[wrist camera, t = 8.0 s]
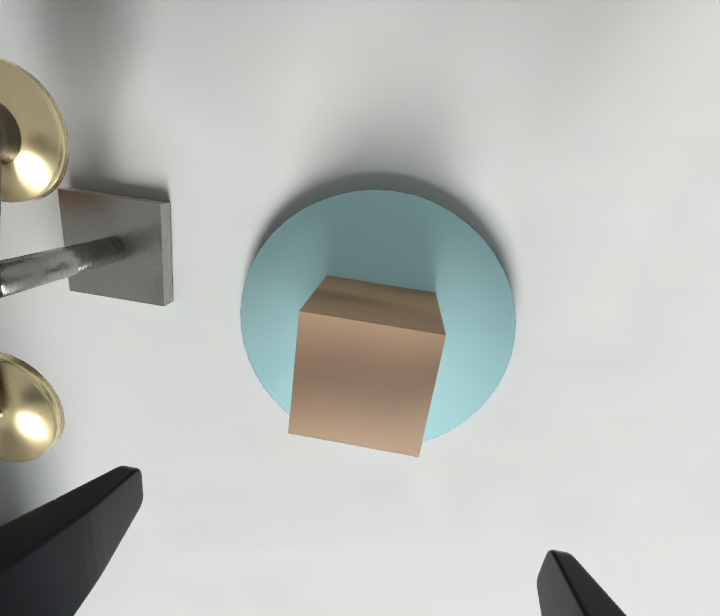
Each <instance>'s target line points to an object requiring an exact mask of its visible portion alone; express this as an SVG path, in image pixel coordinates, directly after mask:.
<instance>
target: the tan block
mask: <svg viewBox="0 0 720 616" xmlns="http://www.w3.org/2000/svg"><path fill="white" fill-rule="evenodd" d="M445 338H446V333H445V329H444V325H443V320H442V316H441V312H440V308H439V304H438V300H437V296H436V292H429V291H423V290H417V289H410V288H404V287H398V286H392V285H385V284H379V283H373V282H367V281H360V280H354V279H348V278H341V277H335V276H329V275H326V277H325V278H324V279H323V281H322V282H321V283H320V284H319V286H318V287H317V288H316V290H315V291H314V292H313V294H312V295H311V296H310V297H309V299H308V300H307V301H306V303H305V304H304V305H303V306H302V308H301V309H300V310H299V316H298V328H297V339H296V351H295V362H294V374H293V385H292V397H291V408H290V420H289V431H288V433H290V434H296V435H301V436H307V437H312V438H318V439H323V440H328V441H334V442H339V443H345V444H350V445H355V446H361V447H366V448H372V449H377V450H382V451H388V452H393V453H399V454H404V455H409V456H415V457H419V454H420V449H421V445H422V440H423V436H424V432H425V427H426V423H427V418H428V414H429V409H430V405H431V401H432V396H433V392H434V387H435V383H436V378H437V374H438V369H439V365H440V361H441V356H442V352H443V347H444V343H445Z"/></svg>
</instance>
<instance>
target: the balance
mask: <svg viewBox="0 0 720 616" xmlns="http://www.w3.org/2000/svg"><path fill="white" fill-rule="evenodd" d="M68 161H69V140H68V134H67V130H66V126H65V123H64V120H63V117H62V115H61V112H60V110H59V108H58V106H57V105H56V103H55V101H54V100H53V98H52V97H51V95H50V94H49V92H48V91H47V90H46V89H45V87H44V86H43V85H42V84H41V83H40V82H39V81H38V80H37V79H36V78H35V77H34V76H33V75H31V74H30V73H29V72H27V71H26V70H24V69H23V68H22V67H20V66H18V65H16V64H14V63H12V62H9V61H6V60H4V59H0V214H1V201H3V202H23V201H33V200H38V199H41V198H43V197H45V196H47V195H49V194H50V193H52V192H53V191H54V190H55V189H56V188H57V187H58V185H59V184H60V183H61V181H62V179H63V177H64V175H65V173H66V170H67V166H68ZM58 195H59V204H60V212H61V220H62V229H63V237H64V245H65V247H61V248H56V249H52V250H47V251H43V252H38V253H33V254H29V255H24V256H20V257H15V258H11V259H6V260H1V261H0V298H2V297H5V296H8V295H11V294H15V293H18V292H21V291H24V290H28V289H31V288H34V287H37V286H40V285H44V284H47V283H50V282H53V281H57V280H60V279H63V278H66V277H68V279H69V287H70V291H76V292H82V293H88V294H94V295H100V296H106V297H112V298H118V299H124V300H130V301H136V302H142V303H148V304H154V305H160V306H166V305H167V304H169V303H171V302H173V283H172V248H171V213H170V203H169V202H162V201H155V200H149V199H142V198H135V197H129V196H122V195H115V194H109V193H102V192H95V191H89V190H82V189H76V188H58ZM63 429H64V412H63V408H62V405H61V402H60V400H59V398H58V396H57V394H56V392H55V391H54V389H53V388H52V386H51V385H50V384H49V382H48V381H47V380H46V379H45V378H44V377H43V376H42V375H41V374H40V373H39V372H38V371H37V370H35V369H34V368H33V367H31V366H30V365H29V364H27V363H25V362H24V361H22V360H20V359H18V358H16V357H13V356H11V355H8V354H4V353H0V459H2V460H6V461H13V462H23V461H29V460H33V459H35V458H37V457H39V456H40V455H42V454H43V453H45V452H46V451H47V450H48V449H50V448H51V447H52V446H53V445H55V444H56V443H57V442H58V440H59V439H60V437H61V435H62V433H63Z"/></svg>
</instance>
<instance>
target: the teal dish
mask: <svg viewBox="0 0 720 616" xmlns="http://www.w3.org/2000/svg"><path fill="white" fill-rule="evenodd" d="M326 275H329V276H335V277H341V278H348V279H354V280H360V281H367V282H373V283H379V284H385V285H392V286H398V287H404V288H410V289H417V290H423V291H429V292H436V296H437V300H438V304H439V308H440V312H441V316H442V320H443V325H444V329H445V333H446V338H445V343H444V347H443V352H442V356H441V361H440V365H439V369H438V374H437V378H436V383H435V387H434V392H433V396H432V401H431V405H430V409H429V414H428V418H427V423H426V427H425V432H424V436H423V440H422V442H424V441H427V440H430V439H433V438H435V437H438V436H440V435H442V434H444V433H446V432H448V431H450V430H452V429H454V428H455V427H457V426H458V425H460V424H462V423H463V422H465V421H466V420H467V419H468V418H469V417H471V416H472V415H473V414H474V413H476V412H477V411H478V410H479V409H480V408H481V407H482V405H483V404H484V403H485V402H486V401H487V400H488V399H489V398H490V396H491V395H492V393H493V392H494V391H495V389H496V388H497V386H498V385H499V383H500V381H501V379H502V377H503V375H504V373H505V371H506V369H507V366H508V363H509V361H510V358H511V354H512V350H513V345H514V340H515V327H516V318H515V306H514V300H513V296H512V292H511V288H510V285H509V282H508V280H507V277H506V274H505V272H504V269H503V268H502V266H501V264H500V262H499V261H498V259H497V257H496V255H495V254H494V252H493V251H492V250H491V248H490V247H489V246H488V244H487V243H486V242H485V241H484V239H483V238H482V237H481V236H480V235H479V234H478V233H477V232H476V231H475V230H474V229H473V228H472V227H471V226H469V225H468V224H467V223H466V222H465V221H463V220H462V219H461V218H459V217H458V216H456V215H455V214H454V213H452V212H451V211H449V210H447V209H445V208H444V207H442V206H440V205H438V204H436V203H434V202H432V201H429V200H426V199H423V198H421V197H418V196H415V195H411V194H406V193H402V192H397V191H387V190H363V191H353V192H348V193H343V194H339V195H335V196H332V197H329V198H327V199H324V200H321V201H318V202H316V203H314V204H312V205H310V206H308V207H306V208H304V209H302V210H300V211H299V212H298V213H296V214H295V215H293V216H292V217H291V218H289V219H288V220H286V221H285V222H284V223H283V224H282V225H281V226H280V227H279V228H278V229H277V230H275V231H274V232H273V233H272V234H271V236H270V237H269V238H268V240H267V241H266V242H265V243H264V245H263V246H262V247H261V249H260V250H259V252H258V254H257V256H256V257H255V259H254V261H253V262H252V265H251V267H250V270H249V272H248V275H247V277H246V281H245V285H244V289H243V293H242V300H241V310H240V315H241V331H242V337H243V342H244V346H245V349H246V353H247V356H248V359H249V361H250V363H251V366H252V368H253V370H254V372H255V374H256V376H257V377H258V379H259V381H260V382H261V384H262V385H263V387H264V388H265V390H266V391H267V392H268V393H269V395H270V396H271V397H272V398H273V400H274V401H275V402H276V403H277V404H278V405H279V406H280V407H281V408H282V409H283V410H284V411H286V412H287V413H288V414H289V415H290V408H291V397H292V385H293V374H294V362H295V351H296V339H297V328H298V316H299V310H300V309H301V308H302V306H303V305H304V304H305V303H306V301H307V300H308V299H309V297H310V296H311V295H312V294H313V292H314V291H315V290H316V288H317V287H318V286H319V284H320V283H321V282H322V281H323V279H324V278H325V277H326Z"/></svg>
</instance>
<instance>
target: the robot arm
mask: <svg viewBox="0 0 720 616" xmlns="http://www.w3.org/2000/svg"><path fill="white" fill-rule="evenodd" d="M142 500H143V487H142V474H141V471H140V469H138V468H134V467H129V466H120V467H117V468H115V469H113V470H111V471H109V472H107V473H105V474H103V475H101V476H99V477H97V478H95V479H93V480H91V481H90V482H88V483H86V484H84V485H82V486H80V487H78V488H76V489H74V490H72V491H70V492H68V493H66V494H64V495H62V496H60V497H58V498H56V499H54V500H52V501H50V502H48V503H46V504H44V505H42V506H40V507H38V508H36V509H34V510H32V511H30V512H28V513H26V514H24V515H22V516H20V517H19V518H17V519H15V520H13V521H11V522H9V523H7V524H5V525H3V526H1V527H0V616H74V615H75V613H76V612H77V610H78V609H79V607H80V606H81V604H82V603H83V602H84V600H85V599H86V597H87V596H88V594H89V593H90V591H91V590H92V588H93V587H94V585H95V584H96V582H97V581H98V579H99V578H100V576H101V575H102V573H103V571H104V570H105V568H106V566H107V564H108V563H109V561H110V559H111V557H112V556H113V554H114V552H115V550H116V549H117V547H118V545H119V543H120V542H121V540H122V538H123V536H124V535H125V533H126V531H127V529H128V528H129V526H130V524H131V523H132V521H133V519H134V517H135V516H136V514H137V512H138V510H139V508H140V506H141V504H142ZM537 590H538V596H539V602H540V608H541V615H542V616H626V615H625V613H624V612H623V611H622V610H621V609H620V608H619V607H618V606H617V604H616V603H615V602H614V601H613V600H612V599H611V598H610V597H609V596H608V594H607V593H606V592H605V591H604V590H603V589H602V588H601V587H600V586H599V584H598V583H597V582H596V581H595V580H594V579H593V578H592V577H591V575H590V574H589V573H588V572H587V571H586V570H585V569H584V568H583V567H582V565H581V564H580V563H579V562H578V561H577V560H576V559H575V558H574V557H573V556H572V555H571V554H569V553H567V552H562V551H557V550H550V551H548V552H547V554H546V557H545V559H544V562H543V564H542V567H541V569H540V572H539V574H538V578H537Z"/></svg>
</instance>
